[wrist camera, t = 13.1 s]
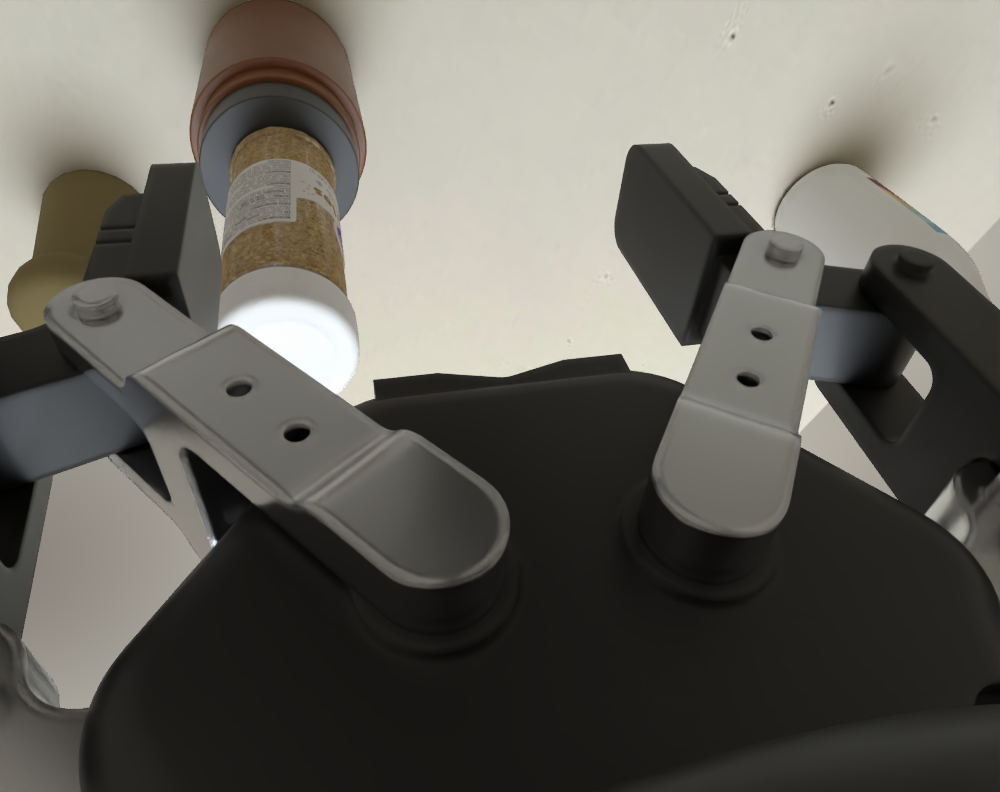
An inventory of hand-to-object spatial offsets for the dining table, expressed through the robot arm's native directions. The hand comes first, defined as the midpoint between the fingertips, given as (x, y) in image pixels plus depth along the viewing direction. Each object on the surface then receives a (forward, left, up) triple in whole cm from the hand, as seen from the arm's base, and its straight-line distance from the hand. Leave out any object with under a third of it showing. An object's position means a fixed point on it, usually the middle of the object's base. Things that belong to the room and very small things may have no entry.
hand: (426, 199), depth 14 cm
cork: (+16, -16, -32) cm, 39 cm away
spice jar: (+8, -4, -19) cm, 21 cm away
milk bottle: (+19, +35, -32) cm, 51 cm away
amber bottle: (+8, -4, -32) cm, 33 cm away
